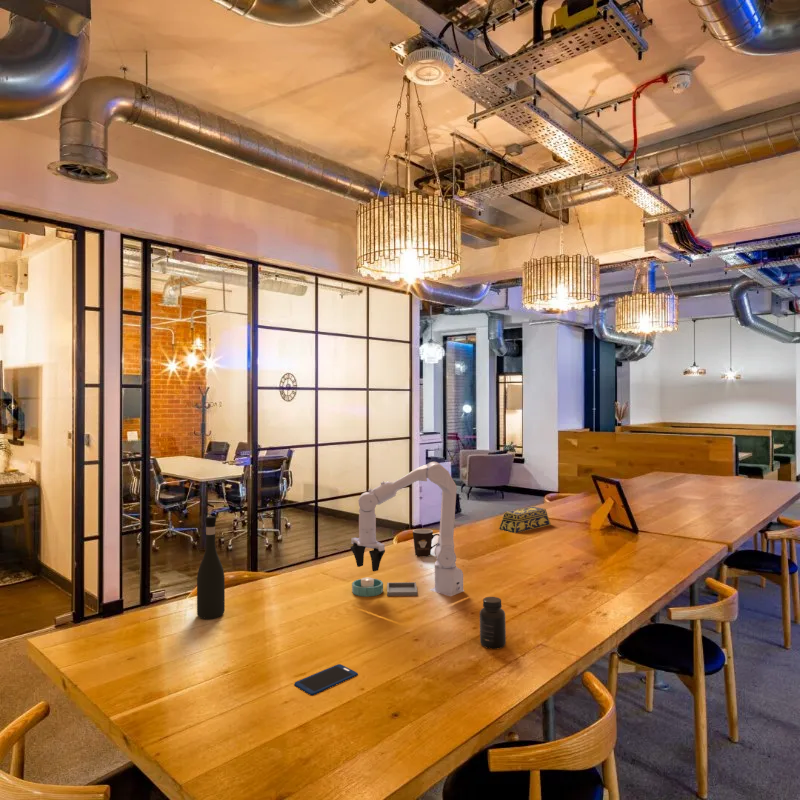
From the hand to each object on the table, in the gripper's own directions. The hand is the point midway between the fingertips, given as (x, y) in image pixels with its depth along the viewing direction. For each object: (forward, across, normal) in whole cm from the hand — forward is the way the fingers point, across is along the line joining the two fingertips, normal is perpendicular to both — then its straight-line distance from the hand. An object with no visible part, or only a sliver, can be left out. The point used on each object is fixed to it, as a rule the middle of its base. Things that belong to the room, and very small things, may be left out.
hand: (367, 568), depth 194 cm
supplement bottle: (+9, +54, -5) cm, 55 cm away
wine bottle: (+8, -20, -47) cm, 51 cm away
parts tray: (+8, +8, +8) cm, 14 cm away
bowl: (+8, 0, 0) cm, 8 cm away
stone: (+8, 0, 0) cm, 8 cm away
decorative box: (+9, -15, +124) cm, 126 cm away
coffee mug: (+9, -17, +49) cm, 53 cm away
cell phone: (+9, +37, -48) cm, 61 cm away
